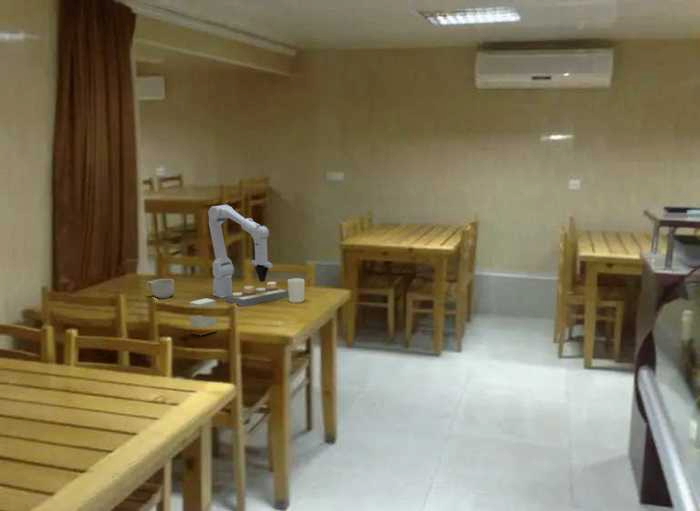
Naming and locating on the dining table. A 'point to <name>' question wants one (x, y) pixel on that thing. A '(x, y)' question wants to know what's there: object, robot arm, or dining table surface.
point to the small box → (200, 320)
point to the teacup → (161, 287)
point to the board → (257, 297)
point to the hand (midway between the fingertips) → (262, 281)
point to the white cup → (296, 290)
